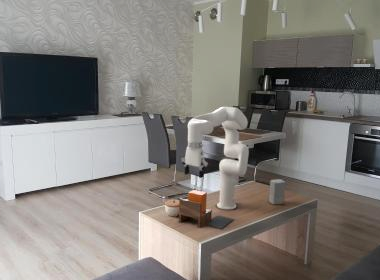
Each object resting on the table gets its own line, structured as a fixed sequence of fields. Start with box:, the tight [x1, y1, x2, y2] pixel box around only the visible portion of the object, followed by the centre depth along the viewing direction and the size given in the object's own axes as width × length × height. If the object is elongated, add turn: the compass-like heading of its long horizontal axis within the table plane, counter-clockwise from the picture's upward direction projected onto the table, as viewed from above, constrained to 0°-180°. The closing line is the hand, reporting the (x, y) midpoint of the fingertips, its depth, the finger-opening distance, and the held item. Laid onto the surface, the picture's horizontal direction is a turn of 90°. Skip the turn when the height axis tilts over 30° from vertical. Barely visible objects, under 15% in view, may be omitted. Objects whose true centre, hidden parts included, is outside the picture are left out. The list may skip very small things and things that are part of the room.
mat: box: [205, 215, 234, 230], centre depth 211 cm, size 16×10×1 cm, turn 148°
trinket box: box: [164, 199, 179, 217], centre depth 220 cm, size 11×11×9 cm
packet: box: [187, 189, 208, 213], centre depth 212 cm, size 6×9×11 cm, turn 58°
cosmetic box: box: [268, 178, 286, 206], centre depth 245 cm, size 8×7×16 cm
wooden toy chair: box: [178, 197, 213, 228], centre depth 211 cm, size 14×14×14 cm
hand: (194, 175), depth 197 cm, fingers open, 9 cm apart
